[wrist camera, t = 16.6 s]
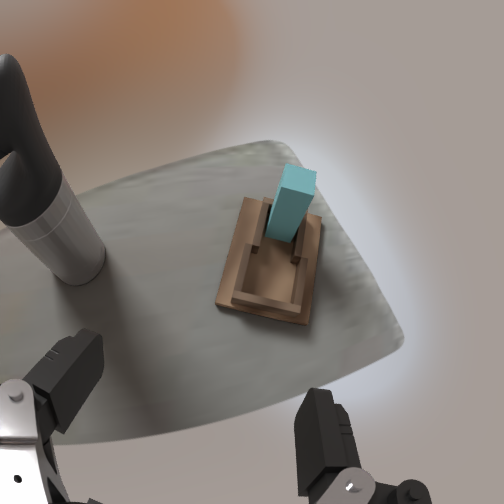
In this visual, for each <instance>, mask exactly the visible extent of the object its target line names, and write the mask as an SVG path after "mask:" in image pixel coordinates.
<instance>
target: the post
mask: <svg viewBox="0 0 504 504" xmlns="http://www.w3.org/2000/svg"><path fill="white" fill-rule="evenodd" d="M315 182H316V171H312V170H309V169H305V168H301V167H298V166H294V165H290V164H287V163H286V165H285V168H284V171H283V174H282V177H281V180H280V183H279V186H278V189H277V193H276V196H275V199H274V202H273V205H272V208H271V211H270V214H269V218H268V223H267V228H266V232H265V237H268V238H272V239H276V240H280V241H284V242H288V243H291V241H292V239H293V237H294V235H295V233H296V231H297V229H298V227H299V225H300V223H301V221H302V219H303V217H304V215H305V213H306V211H307V209H308V207H309V205H310V203H311V201H312V199H313V197H314V192H315Z"/></svg>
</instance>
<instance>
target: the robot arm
mask: <svg viewBox="0 0 504 504" xmlns="http://www.w3.org/2000/svg"><path fill="white" fill-rule="evenodd" d="M9 153H11V154H10V156H9V157H8V158H7V160H6V161H5V162H4V163H3V165H2V166H1V168H0V220H1V221H2V222H3V223H4V224H5V225H6V226H7V227H8V228H9V230H10V231H11V232H12V233H13V234H14V235H15V236H16V237H17V238H18V239H19V240H20V241H21V242H22V243H23V244H24V245H25V246H26V247H27V248H28V249H29V250H30V251H31V252H32V253H33V254H34V255H35V256H36V257H37V258H38V259H39V260H40V261H41V262H42V263H43V264H45V265H46V266H47V267H48V268H49V269H50V270H51V271H52V272H53V273H54V274H55V275H56V276H57V277H59V278H60V279H61V280H62V281H63V282H65V283H67V284H69V285H75V286H76V285H82V284H85V283H87V282H89V281H90V280H92V279H93V278H94V277H95V276H96V275H97V274H98V273H99V271H100V270H101V268H102V266H103V263H104V260H105V247H104V244H103V242H102V240H101V239H100V237H99V236H98V234H97V232H96V231H95V229H94V227H93V225H92V224H91V222H90V220H89V219H88V217H87V215H86V213H85V212H84V210H83V208H82V207H81V205H80V203H79V201H78V199H77V198H76V196H75V194H74V192H73V190H72V189H71V187H70V185H69V183H68V181H67V179H66V178H65V176H64V174H63V172H62V170H61V168H60V166H59V164H58V162H57V160H56V159H55V156H54V155H53V152H52V150H51V148H50V146H49V144H48V142H47V140H46V137H45V135H44V133H43V130H42V128H41V126H40V123H39V120H38V117H37V114H36V111H35V108H34V105H33V102H32V98H31V95H30V92H29V88H28V85H27V82H26V79H25V76H24V74H23V72H22V69H21V67H20V65H19V63H18V61H17V60H16V59H15V58H14V57H13V56H12V55H9V54H2V55H0V159H2V158H3V157H4V156H6V155H8V154H9ZM103 370H104V356H103V341H102V336H101V335H100V334H98V333H95V332H93V331H90V330H87V329H85V328H83V329H81V330H80V331H79V332H78V333H77V334H76V336H75V337H74V338H73V337H71V336H68V337H66V338H64V339H62V340H60V341H58V342H57V343H56V344H55V345H54V346H53V347H52V348H51V351H50V350H49V351H48V352H47V353H46V355H45V357H43V358H42V359H41V360H40V361H39V362H38V363H37V364H36V365H35V366H34V367H33V368H32V369H31V371H30V372H29V373H28V374H27V375H26V376H25V377H24V378H23V379H22V380H20V379H11V380H8V381H6V382H4V383H3V384H0V504H102V503H100V502H97V501H95V500H93V499H91V498H89V500H88V502H87V503H80V502H70V500H69V497H68V494H67V492H66V489H65V487H64V485H63V483H62V480H61V477H60V473H59V470H58V465H57V461H56V457H55V453H54V448H53V443H52V438H51V434H52V433H53V431H54V430H56V431H58V432H60V433H62V434H65V432H66V430H67V429H68V427H69V426H70V424H71V422H72V421H73V419H74V418H75V416H76V414H77V413H78V411H79V410H80V408H81V407H82V405H83V404H84V402H85V401H86V399H87V397H88V396H89V394H90V393H91V391H92V390H93V388H94V387H95V385H96V384H97V382H98V381H99V379H100V378H101V376H102V373H103ZM350 426H351V424H350V420H349V416H348V413H347V412H346V411H345V410H344V408H343V407H342V405H341V404H334V400H333V396H332V392H331V391H330V390H325V389H317V388H310V389H309V391H308V392H307V394H306V397H305V398H304V401H303V403H302V404H301V406H300V408H299V410H298V412H297V414H296V417H295V422H294V433H295V447H296V463H297V479H298V496H305V497H307V496H308V497H309V504H432V502H431V498H430V495H429V491H428V489H427V487H426V486H425V485H424V484H423V483H421V482H420V481H417V480H413V479H411V480H406V481H403V482H402V483H401V484H400V485H398V486H393V485H388V484H383V483H378V482H375V481H374V479H373V477H372V476H371V474H370V473H368V472H367V471H365V470H363V469H362V468H361V464H360V460H359V456H358V452H357V448H356V443H355V439H354V436H353V431H352V428H351V427H350Z"/></svg>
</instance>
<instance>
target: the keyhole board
mask: <svg viewBox="0 0 504 504" xmlns="http://www.w3.org/2000/svg"><path fill="white" fill-rule="evenodd" d="M273 202H274V199H270V198H266V197H264V199H263V201H259V200H255V199H251V198H247V197H244V200H243V204H242V207H241V211H240V214H239V218H238V221H237V225H236V228H235V232H234V235H233V239H232V242H231V246H230V250H229V253H228V257H227V260H226V264H225V268H224V271H223V275H222V279H221V282H220V286H219V290H218V293H217V297H216V301H215V305H219V306H223V307H227V308H231V309H235V310H239V311H243V312H247V313H252V314H256V315H260V316H264V317H269V318H273V319H278V320H282V321H287V322H291V323H296V324H301V325H305V326H306V325H308V322H309V315H310V309H311V302H312V295H313V288H314V280H315V272H316V264H317V256H318V247H319V238H320V229H321V219H322V217H320V216H316V215H312V214H309V213H308V209H307V211H306V213H305V215H304V217H303V219H302V221H301V223H300V225H299V227H298V229H297V231H296V233H295V235H294V237H293V239H292V241H291V243H288V242H284V241H280V240H276V239H272V238H268V237H265V232H266V228H267V223H268V218H269V214H270V211H271V208H272V205H273Z"/></svg>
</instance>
